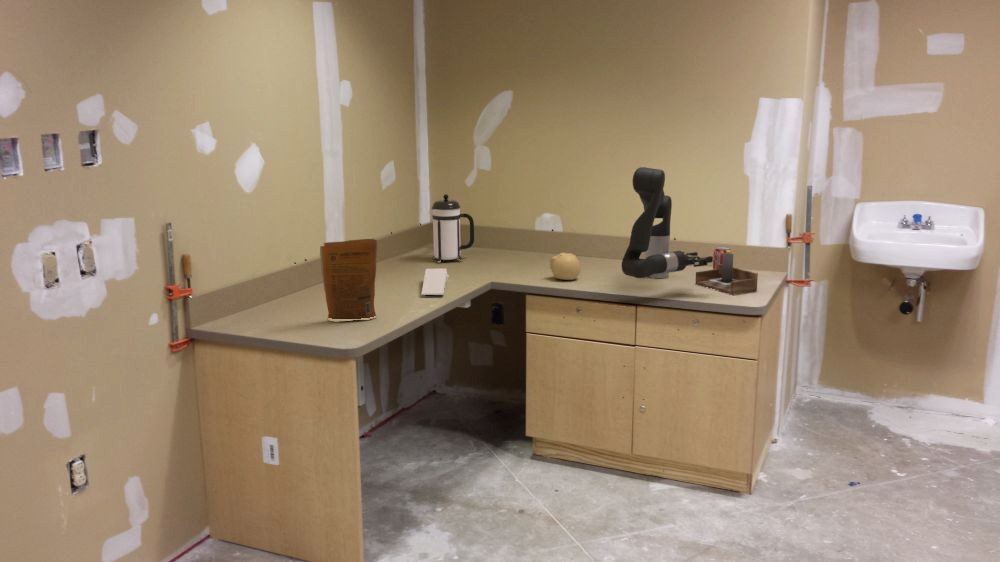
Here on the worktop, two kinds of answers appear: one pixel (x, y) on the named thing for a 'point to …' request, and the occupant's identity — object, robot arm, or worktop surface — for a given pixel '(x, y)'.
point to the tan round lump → (565, 266)
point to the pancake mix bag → (349, 278)
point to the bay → (735, 285)
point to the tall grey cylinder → (727, 267)
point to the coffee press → (448, 229)
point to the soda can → (719, 255)
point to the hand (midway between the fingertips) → (704, 257)
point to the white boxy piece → (434, 281)
